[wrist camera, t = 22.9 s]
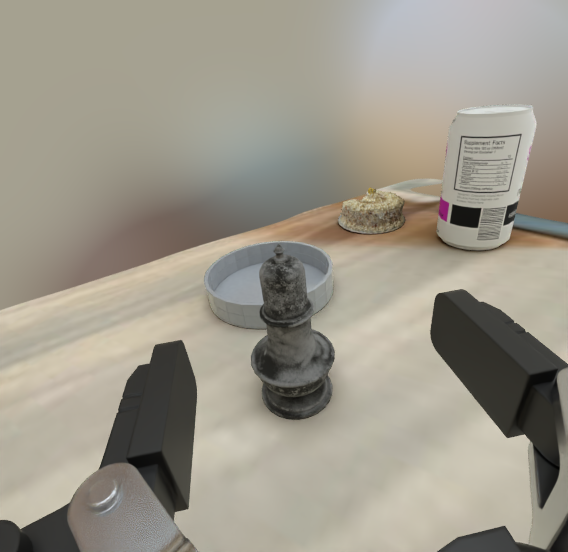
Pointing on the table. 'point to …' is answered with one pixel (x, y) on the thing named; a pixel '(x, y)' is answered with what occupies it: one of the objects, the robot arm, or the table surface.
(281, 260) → the dark grey chess piece
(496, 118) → the supplement can
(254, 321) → the tin
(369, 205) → the cake
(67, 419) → the table surface
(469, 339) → the robot arm
